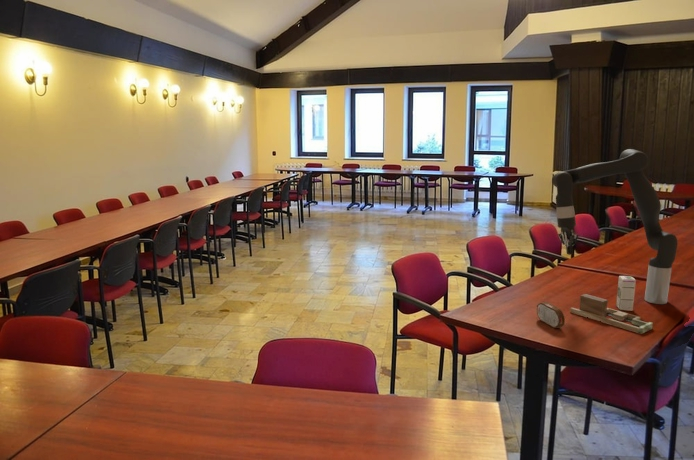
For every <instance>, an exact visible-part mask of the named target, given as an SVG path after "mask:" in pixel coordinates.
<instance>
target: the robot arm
mask: <svg viewBox="0 0 694 460" xmlns="http://www.w3.org/2000/svg"><path fill="white" fill-rule="evenodd" d="M648 165H649V157H648V155H647V154H646V153H644V152H643V151H640V150H637V149H633V148H628V149H625V150H623V151H622V152H621V153H620V156H619V158H618V159H616V160H612V161H607V162H606V161H605V162H596V163H590V164H587V165H583V166H580V167H577V168H573V169H569V170H563V171H560V172H557V173H555V174H554V175H553V176H552V178H551V183H552V185H553V186H554V187H555V188H556V195H555V204H556V221H557V227H558V228H559V229H560V233H558V234H557V236H558V238H559V239H560V241H561V243H562V245H563V246H564V247H565V250H566V255H569V256H570V255H573V254H574V250H573V246H576V244H577V240H578V237H579V235H578V234H577V233H576V232H575V229H574V227H576V226H577V224H576V223H577V222H576V213H575V208H574V199H573V191H574V190H573V189H574V185H575V184H583V183H587V182H590V181H591V182H592V181H594V180H598V179H601V178H605V177H611V176H614V175H621V174H624V175H625V177H626V179H627V181H628V185H629V188H630V191H631V194H632V197H633V200H634V203H635V205H636V208H637V211H638V213H639V215H640V216H639V217H640V219H641V222H642V224H643V228H644V233H645V238H646V241H647V244H648V246H649V248H650V249H652V250H655V251H657V252H656V256H655V257H651V258H649V260H648V266H647V267H648V269H647V275H646V284H645V293H644V301H645V302H647V303H651V304H655V305H666V304H667V303H668V297H669V296H668V295H669V290H670V283H671V276H672V268H673V264H674V262H675V261H676V255H677V249H678V244H679V243H678V239H677V238H678V237H677V236H676V235H675V234H673V233H671V232H666V231H664V230H663V228H662V227H661V224H660V221H659V216H660V213H661V202H660V199H659V196H658V193H657V191H656V190H655V188H654V186H653V184H651V182H650V181H649V179H648V178H647V176H646V175H645V172H644V170H645V169H647V167H648ZM575 233H576V234H575Z"/></svg>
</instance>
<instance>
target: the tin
mask: <svg viewBox="0 0 694 460" xmlns="http://www.w3.org/2000/svg"><path fill="white" fill-rule="evenodd" d="M536 315H537V317H538V318H539V320H540V321H541V322H543V323H544V324H546V325H548V326H549V327H551V328H553V329H561V328H563V327H564V325H565V321H566V320H565V314H564V313H563V311H562V310H561V309H560V308H559V307H557V306H555V305H553V304H552V303H549V302H548V301H543V302H539V303H538V304H537V305H536Z"/></svg>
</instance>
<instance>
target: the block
mask: <svg viewBox="0 0 694 460" xmlns="http://www.w3.org/2000/svg"><path fill="white" fill-rule="evenodd" d="M608 302H609V300H608V299H606V298H603V297H598V296H595V295H590V294H587V293H584V294H581V295H580V299H579V308H578V309H579V310H582V311H586V312H589V313H592V314H596V315H599V316H602V317H606V318H607V315H606V313H607V308H608V304H609V303H608Z"/></svg>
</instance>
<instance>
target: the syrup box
mask: <svg viewBox="0 0 694 460" xmlns="http://www.w3.org/2000/svg"><path fill="white" fill-rule="evenodd" d="M636 282H637V280H636V279H635V278H634V277H633V276H629V275H619V276H618V283H617V292H616V293H617V294H616V303H615V306H616V308H617V309H618V311H629V312H630V311H633V310H634V301H635V293H636Z"/></svg>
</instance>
